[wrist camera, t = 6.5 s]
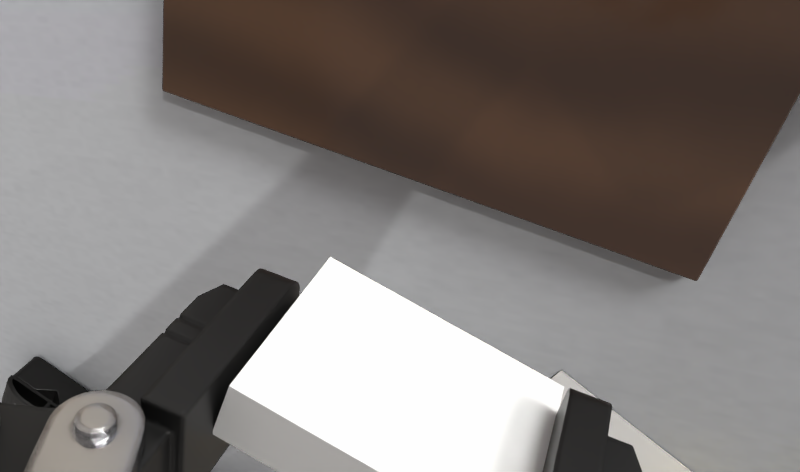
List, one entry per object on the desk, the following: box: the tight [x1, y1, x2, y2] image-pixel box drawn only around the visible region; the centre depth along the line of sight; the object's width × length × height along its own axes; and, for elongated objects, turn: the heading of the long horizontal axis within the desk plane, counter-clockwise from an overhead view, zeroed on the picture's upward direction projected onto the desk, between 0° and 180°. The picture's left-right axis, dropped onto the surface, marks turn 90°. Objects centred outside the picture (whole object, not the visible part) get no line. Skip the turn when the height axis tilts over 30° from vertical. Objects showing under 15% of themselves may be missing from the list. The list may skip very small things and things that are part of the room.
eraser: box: [213, 257, 564, 472], centre depth 12 cm, size 1×5×4 cm, turn 68°
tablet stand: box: [2, 357, 89, 408], centre depth 44 cm, size 18×3×3 cm, turn 60°
